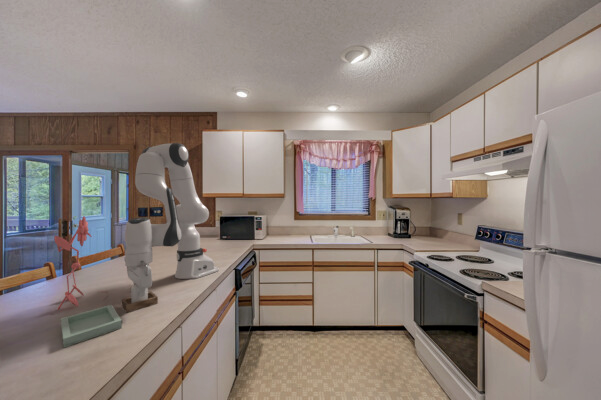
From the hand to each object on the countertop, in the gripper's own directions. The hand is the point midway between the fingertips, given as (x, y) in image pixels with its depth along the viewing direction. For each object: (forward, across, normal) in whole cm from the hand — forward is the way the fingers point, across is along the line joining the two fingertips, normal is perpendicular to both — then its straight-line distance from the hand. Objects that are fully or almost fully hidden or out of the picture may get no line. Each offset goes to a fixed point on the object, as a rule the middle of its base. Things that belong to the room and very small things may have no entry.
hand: (139, 294), depth 90 cm
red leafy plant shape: (+4, +22, +14) cm, 26 cm away
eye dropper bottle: (+4, 0, 0) cm, 4 cm away
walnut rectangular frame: (+4, 0, 0) cm, 4 cm away
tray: (+4, -7, +15) cm, 17 cm away
